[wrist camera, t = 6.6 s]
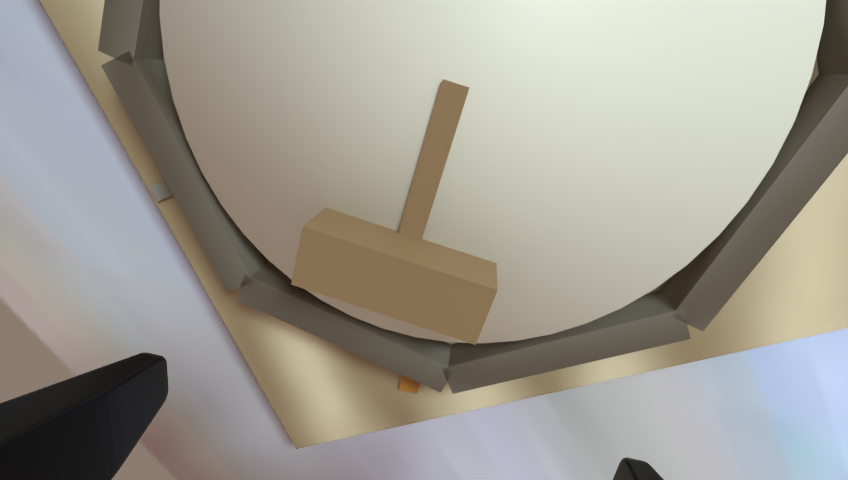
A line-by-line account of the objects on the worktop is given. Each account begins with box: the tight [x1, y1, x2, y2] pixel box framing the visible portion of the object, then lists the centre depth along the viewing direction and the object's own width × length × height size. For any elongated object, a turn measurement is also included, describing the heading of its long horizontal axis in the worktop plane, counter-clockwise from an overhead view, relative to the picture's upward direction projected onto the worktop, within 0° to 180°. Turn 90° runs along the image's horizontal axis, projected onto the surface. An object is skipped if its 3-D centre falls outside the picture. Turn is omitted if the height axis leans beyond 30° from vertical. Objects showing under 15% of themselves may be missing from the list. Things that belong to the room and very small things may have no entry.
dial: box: [159, 0, 826, 345], centre depth 13 cm, size 19×19×4 cm
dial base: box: [40, 0, 848, 449], centre depth 15 cm, size 26×26×3 cm
